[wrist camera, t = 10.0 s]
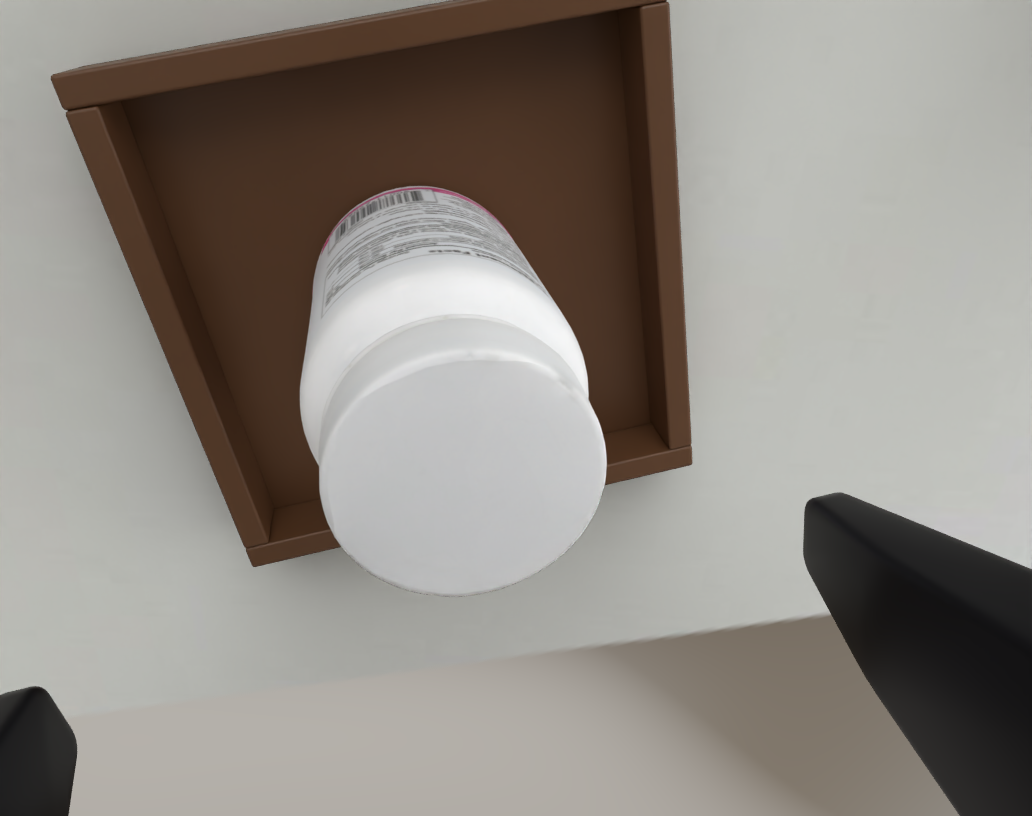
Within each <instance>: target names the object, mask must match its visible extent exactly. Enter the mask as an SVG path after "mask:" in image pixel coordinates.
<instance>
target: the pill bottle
mask: <svg viewBox="0 0 1032 816" xmlns="http://www.w3.org/2000/svg"><path fill="white" fill-rule="evenodd" d="M312 296H313V298H312V306H311V314H310V322H309V329H308V336H307V343H306V350H305V356H304V363H303V369H302V376H301V383H300V412H301V419H302V424H303V429H304V433H305V436H306V439H307V442H308V444H309V447H310V450H311V452H312V454H313V456H314V458H315V460H316V462H317V463H318V465H319V492H320V497H321V502H322V507H323V510H324V514H325V517H326V520H327V523H328V525H329V527H330V529H331V531H332V533H333V535H334V537H335V538H336V540H337V541H338V543H339V544H340V546H341V547H342V548H343V549H344V551H345V552H346V553H347V554H348V555H349V556H350V557H351V558H352V559H353V560H354V561H355V562H356V563H357V564H358V565H360V566H361V567H362V568H363V569H365V570H366V571H367V572H369V573H370V574H372V575H373V576H375V577H377V578H379V579H381V580H383V581H384V582H387V583H389V584H391V585H394V586H396V587H399V588H402V589H405V590H408V591H412V592H416V593H420V594H426V595H437V596H445V597H455V596H457V597H462V596H472V595H477V594H482V593H487V592H491V591H496V590H499V589H503V588H505V587H508V586H510V585H513V584H516V583H518V582H520V581H522V580H524V579H527V578H529V577H530V576H532V575H534V574H535V573H537V572H539V571H541V570H542V569H544V568H545V567H547V566H549V565H550V564H552V563H553V562H554V561H555V560H557V559H558V558H559V557H560V556H562V555H563V554H564V553H565V552H566V551H567V550H568V549H569V548H570V547H571V546H572V545H573V544H574V543H575V542H576V540H577V539H578V538H579V537H580V536H581V535H582V533H583V532H584V530H585V529H586V527H587V526H588V524H589V522H590V521H591V519H592V517H593V515H594V514H595V512H596V509H597V506H598V504H599V502H600V499H601V496H602V492H603V489H604V485H605V481H606V469H607V457H606V447H605V441H604V437H603V433H602V429H601V426H600V423H599V420H598V418H597V416H596V414H595V412H594V410H593V408H592V406H591V404H590V402H589V400H588V397H589V393H588V377H587V371H586V367H585V362H584V358H583V355H582V352H581V349H580V347H579V344H578V341H577V339H576V337H575V335H574V333H573V331H572V329H571V327H570V325H569V324H568V322H567V321H566V319H565V317H564V316H563V314H562V312H561V311H560V309H559V308H558V306H557V305H556V303H555V302H554V300H553V299H552V298H551V296H550V295H549V293H548V292H547V290H546V289H545V287H544V285H543V284H542V282H541V281H540V279H539V278H538V276H537V275H536V273H535V272H534V270H533V269H532V267H531V266H530V264H529V263H528V261H527V260H526V258H525V257H524V255H523V254H522V252H521V251H520V249H519V248H518V246H517V245H516V244H515V242H514V240H513V239H512V237H511V236H510V234H509V233H508V231H507V230H506V229H505V227H504V226H503V225H502V224H501V223H500V222H499V221H498V220H497V219H496V218H495V217H494V216H493V215H492V214H491V213H490V212H489V211H487V210H486V209H485V208H484V207H482V206H481V205H479V204H478V203H476V202H474V201H473V200H471V199H469V198H467V197H465V196H463V195H461V194H458V193H456V192H453V191H449V190H446V189H442V188H437V187H429V186H409V187H402V188H396V189H392V190H388V191H385V192H382V193H380V194H377V195H375V196H373V197H370V198H368V199H367V200H365V201H363V202H362V203H360V204H358V205H357V206H356V207H354V208H353V209H352V210H350V211H349V212H348V213H347V214H346V215H345V216H344V217H343V218H342V219H341V220H340V221H339V223H338V224H337V225H336V226H335V228H334V229H333V230H332V232H331V234H330V235H329V237H328V238H327V240H326V242H325V244H324V246H323V248H322V251H321V253H320V256H319V259H318V262H317V265H316V270H315V275H314V280H313V291H312Z"/></svg>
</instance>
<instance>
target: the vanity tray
mask: <svg viewBox="0 0 1032 816" xmlns="http://www.w3.org/2000/svg"><path fill="white" fill-rule="evenodd" d="M51 81H52V83H53V86H54V88H55V91H56V93H57V95H58V98H59V100H60V103H61V105H62V107H63V108H64V110H68V111H67V112H66V117H67V120H68V122H69V124H70V127H71V129H72V132H73V134H74V136H75V139H76V141H77V144H78V146H79V149H80V151H81V153H82V156H83V158H84V161H85V163H86V165H87V168H88V170H89V173H90V175H91V178H92V180H93V182H94V185H95V187H96V190H97V192H98V194H99V197H100V199H101V202H102V204H103V207H104V209H105V211H106V214H107V216H108V219H109V221H110V223H111V226H112V228H113V231H114V233H115V236H116V238H117V240H118V243H119V245H120V248H121V250H122V252H123V255H124V257H125V260H126V262H127V265H128V267H129V269H130V272H131V274H132V277H133V279H134V281H135V284H136V286H137V289H138V291H139V294H140V296H141V298H142V301H143V303H144V306H145V308H146V310H147V313H148V315H149V318H150V320H151V323H152V325H153V327H154V330H155V332H156V335H157V337H158V339H159V342H160V344H161V347H162V349H163V352H164V354H165V356H166V359H167V361H168V364H169V366H170V368H171V371H172V373H173V376H174V378H175V381H176V383H177V385H178V388H179V390H180V393H181V395H182V397H183V400H184V402H185V405H186V407H187V410H188V412H189V414H190V417H191V419H192V422H193V424H194V426H195V429H196V431H197V434H198V436H199V439H200V441H201V443H202V446H203V448H204V451H205V453H206V455H207V458H208V460H209V463H210V465H211V468H212V470H213V472H214V475H215V477H216V480H217V482H218V484H219V487H220V489H221V492H222V494H223V497H224V499H225V501H226V504H227V506H228V509H229V511H230V513H231V516H232V518H233V521H234V523H235V526H236V528H237V530H238V533H239V535H240V538H241V540H242V542H243V545H244V547H245V548H246V552H247V555H248V557H249V559H250V562H251V564H252V566H253V567H257V566H261V565H266V564H270V563H274V562H278V561H283V560H287V559H291V558H295V557H300V556H304V555H308V554H313V553H317V552H321V551H325V550H330V549H334V548H338V547H341V546H340V544H339V543H338V541H337V540H336V538H335V537H334V535H333V533H332V531H331V529H330V527H329V525H328V523H327V520H326V517H325V514H324V510H323V507H322V502H321V497H320V492H319V465H318V463H317V462H316V460H315V458H314V456H313V454H312V452H311V450H310V447H309V444H308V442H307V439H306V436H305V433H304V429H303V424H302V419H301V412H300V383H301V376H302V369H303V363H304V356H305V350H306V343H307V336H308V329H309V322H310V314H311V306H312V298H313V296H312V291H313V280H314V275H315V270H316V265H317V262H318V259H319V256H320V253H321V251H322V248H323V246H324V244H325V242H326V240H327V238H328V237H329V235H330V234H331V232H332V230H333V229H334V228H335V226H336V225H337V224H338V223H339V221H340V220H341V219H342V218H343V217H344V216H345V215H346V214H347V213H348V212H349V211H350V210H352V209H353V208H354V207H356V206H357V205H358V204H360V203H362V202H363V201H365V200H367V199H368V198H370V197H373V196H375V195H377V194H380V193H382V192H385V191H388V190H392V189H396V188H402V187H409V186H429V187H437V188H442V189H446V190H449V191H453V192H456V193H458V194H461V195H463V196H465V197H467V198H469V199H471V200H473V201H474V202H476V203H478V204H479V205H481V206H482V207H484V208H485V209H486V210H487V211H489V212H490V213H491V214H492V215H493V216H494V217H495V218H496V219H497V220H498V221H499V222H500V223H501V224H502V225H503V226H504V227H505V229H506V230H507V231H508V233H509V234H510V236H511V237H512V239H513V240H514V242H515V244H516V245H517V246H518V248H519V249H520V251H521V252H522V254H523V255H524V257H525V258H526V260H527V261H528V263H529V264H530V266H531V267H532V269H533V270H534V272H535V273H536V275H537V276H538V278H539V279H540V281H541V282H542V284H543V285H544V287H545V289H546V290H547V292H548V293H549V295H550V296H551V298H552V299H553V300H554V302H555V303H556V305H557V306H558V308H559V309H560V311H561V312H562V314H563V316H564V317H565V319H566V321H567V322H568V324H569V325H570V327H571V329H572V331H573V333H574V335H575V337H576V339H577V341H578V344H579V347H580V349H581V352H582V355H583V358H584V362H585V367H586V371H587V377H588V393H589V397H588V400H589V402H590V404H591V406H592V408H593V410H594V412H595V414H596V416H597V418H598V420H599V423H600V426H601V429H602V433H603V437H604V441H605V447H606V457H607V469H606V481H605V485H607V484H612V483H616V482H620V481H624V480H629V479H633V478H637V477H642V476H646V475H650V474H654V473H659V472H663V471H667V470H671V469H676V468H680V467H684V466H689V465H691V464H692V447H691V424H690V404H689V384H688V365H687V345H686V325H685V305H684V286H683V266H682V246H681V226H680V206H679V187H678V167H677V147H676V127H675V108H674V88H673V68H672V48H671V28H670V9H669V3H668V2H666V0H451V1H446V2H440V3H434V4H429V5H423V6H418V7H412V8H406V9H401V10H395V11H390V12H384V13H378V14H373V15H367V16H362V17H356V18H350V19H345V20H339V21H334V22H328V23H322V24H317V25H311V26H306V27H300V28H294V29H289V30H283V31H278V32H272V33H267V34H261V35H255V36H250V37H244V38H239V39H233V40H227V41H222V42H216V43H211V44H205V45H199V46H194V47H188V48H183V49H177V50H171V51H166V52H160V53H155V54H149V55H143V56H138V57H132V58H127V59H121V60H115V61H110V62H104V63H99V64H93V65H87V66H82V67H79V68H75V69H72V70H68V71H64V72H61V73H57V74H53V75H52V76H51Z"/></svg>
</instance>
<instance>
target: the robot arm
mask: <svg viewBox="0 0 1032 816" xmlns="http://www.w3.org/2000/svg"><path fill="white" fill-rule="evenodd" d="M803 555H804V560H805V564H806V567H807V569H808V572H809V574H810V575H811V577H812V579H813V581H814V583H815V585H816V587H817V589H818V590H819V592H820V594H821V596H822V598H823V600H824V602H825V603H826V605H827V607H828V609H829V611H830V613H831V615H832V617H833V618H834V620H835V622H836V624H837V626H838V628H839V630H840V631H841V633H842V635H843V637H844V639H845V641H846V643H847V644H848V646H849V648H850V650H851V652H852V654H853V655H854V657H855V659H856V661H857V663H858V664H859V666H860V668H861V670H862V672H863V673H864V675H865V677H866V679H867V680H868V682H869V683H870V685H871V686H872V688H873V689H874V691H875V693H876V694H877V695H878V697H879V699H880V700H881V702H882V703H883V704H884V706H885V707H886V709H887V710H888V711H889V713H890V714H891V716H892V718H893V719H894V720H895V722H896V723H897V725H898V726H899V728H900V729H901V731H902V732H903V734H904V735H905V737H906V738H907V739H908V741H909V742H910V744H911V745H912V747H913V748H914V750H915V751H916V753H917V754H918V756H919V757H920V758H921V760H922V761H923V763H924V764H925V766H926V767H927V769H928V770H929V772H930V773H931V774H932V776H933V777H934V779H935V780H936V782H937V783H938V785H939V786H940V788H941V789H942V790H943V792H944V793H945V794H946V796H947V798H948V799H949V801H950V802H951V804H952V805H953V807H954V808H955V809H956V811H957V812H958V814H959V815H960V816H1032V569H1030V568H1027V567H1025V566H1022V565H1020V564H1017V563H1015V562H1012V561H1010V560H1007V559H1005V558H1002V557H1000V556H998V555H995V554H993V553H990V552H988V551H985V550H983V549H980V548H978V547H975V546H973V545H970V544H968V543H966V542H963V541H961V540H958V539H956V538H953V537H951V536H948V535H946V534H943V533H941V532H938V531H936V530H934V529H931V528H929V527H926V526H924V525H921V524H919V523H916V522H914V521H911V520H909V519H906V518H904V517H902V516H899V515H897V514H894V513H892V512H889V511H887V510H884V509H882V508H879V507H877V506H874V505H872V504H870V503H867V502H865V501H862V500H860V499H857V498H855V497H852V496H850V495H847V494H844V493H832V494H828V495H824V496H820V497H816V498H812V499H810V500H809V501H808V502H807V504H806V506H805V514H804V542H803ZM76 759H77V743H76V738H75V735H74V733H73V731H72V729H71V727H70V726H69V724H68V723H67V721H66V720H65V718H64V716H63V715H62V713H61V712H60V710H59V709H58V707H57V706H56V704H55V702H54V701H53V699H52V698H51V696H50V695H49V693H48V692H47V691H46V690H45V689H43V688H41V687H37V686H32V687H28V688H24V689H20V690H16V691H11V692H7V693H4V694H2V695H0V816H68V814H69V807H70V800H71V793H72V786H73V779H74V773H75V766H76Z"/></svg>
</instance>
